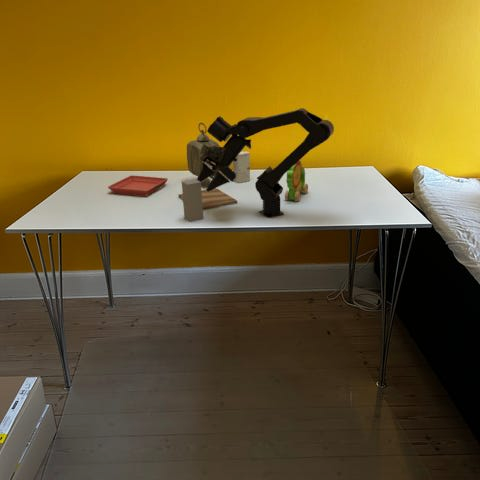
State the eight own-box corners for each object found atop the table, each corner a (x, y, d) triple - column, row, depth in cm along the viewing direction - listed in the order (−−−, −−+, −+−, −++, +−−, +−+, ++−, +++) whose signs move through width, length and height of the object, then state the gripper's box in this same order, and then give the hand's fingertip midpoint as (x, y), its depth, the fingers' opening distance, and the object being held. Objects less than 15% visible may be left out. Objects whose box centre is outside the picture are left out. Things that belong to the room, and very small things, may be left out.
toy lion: (295, 190, 188) (296, 152, 182) (308, 192, 186) (310, 153, 180) (281, 203, 175) (282, 162, 169) (295, 205, 173) (296, 164, 167)
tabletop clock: (222, 185, 195) (219, 124, 185) (202, 189, 191) (198, 126, 181) (206, 177, 207) (203, 119, 197) (187, 180, 203) (183, 121, 193)
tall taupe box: (203, 219, 162) (201, 182, 156) (189, 221, 159) (186, 184, 154) (197, 215, 165) (195, 178, 160) (184, 217, 163) (181, 181, 158)
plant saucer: (131, 182, 204) (130, 174, 203) (169, 185, 199) (168, 177, 198) (107, 195, 189) (106, 187, 188) (147, 199, 183) (146, 190, 182)
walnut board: (237, 203, 176) (237, 200, 175) (197, 210, 169) (197, 208, 168) (215, 190, 190) (215, 187, 190) (178, 197, 183) (178, 194, 183)
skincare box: (238, 183, 198) (237, 154, 193) (232, 180, 202) (231, 152, 197) (250, 180, 201) (250, 152, 196) (244, 178, 205) (244, 150, 200)
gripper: (203, 130, 163) (175, 166, 163) (226, 140, 147) (194, 180, 147) (225, 150, 169) (198, 185, 169) (249, 162, 154) (219, 200, 154)
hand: (201, 187), depth 160 cm, fingers open, 9 cm apart
